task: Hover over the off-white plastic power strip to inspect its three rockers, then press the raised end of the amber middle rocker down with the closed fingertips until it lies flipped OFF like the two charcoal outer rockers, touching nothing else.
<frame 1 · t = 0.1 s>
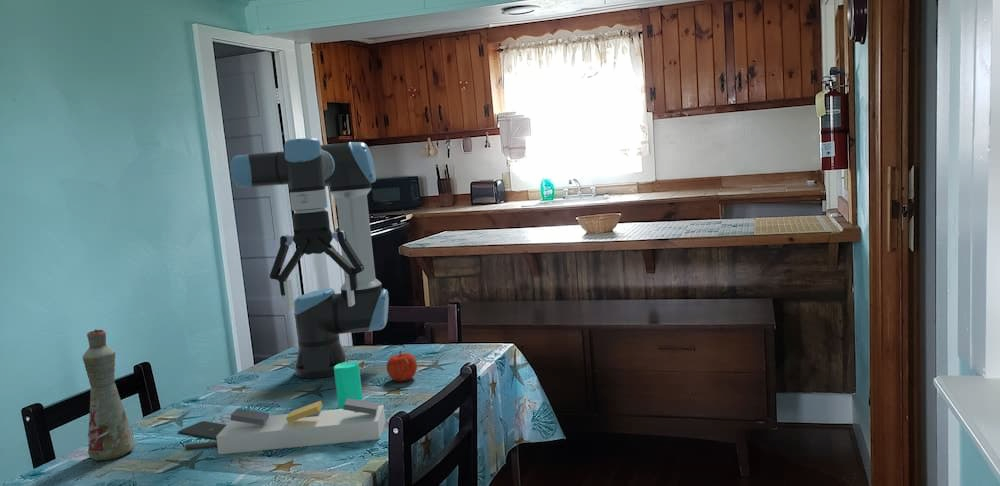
hand: (321, 307, 156), 28 cm above the table, fingers open, 13 cm apart
power strip: (304, 437, 156), on the table
rocker b: (304, 411, 154), point 6 cm above the table, hinge at 15.0°
candle: (351, 407, 174), on the table
bottle: (113, 455, 156), on the table
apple: (403, 380, 192), on the table
rocker a: (250, 416, 154), point 6 cm above the table, hinge at -15.0°
smartphone: (211, 433, 166), on the table
rocker c: (361, 406, 155), point 6 cm above the table, hinge at -15.0°
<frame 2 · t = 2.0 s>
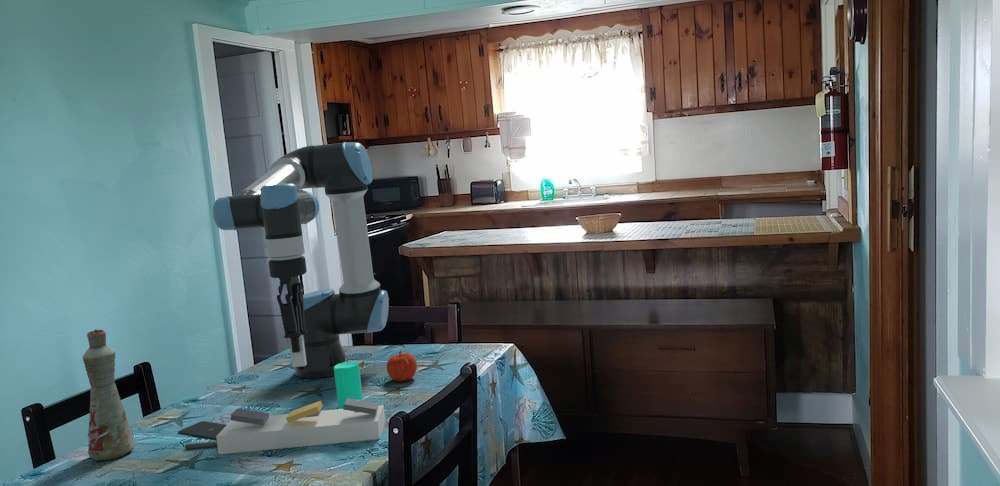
hand: (299, 365, 153), 16 cm above the table, fingers closed
nothing on the table moved.
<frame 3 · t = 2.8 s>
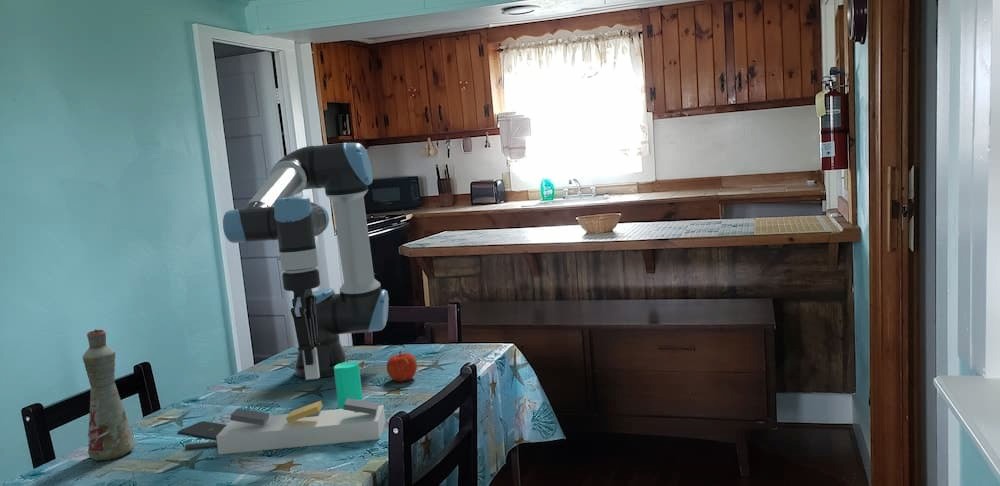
hand: (312, 377, 154), 14 cm above the table, fingers closed
nothing on the table moved.
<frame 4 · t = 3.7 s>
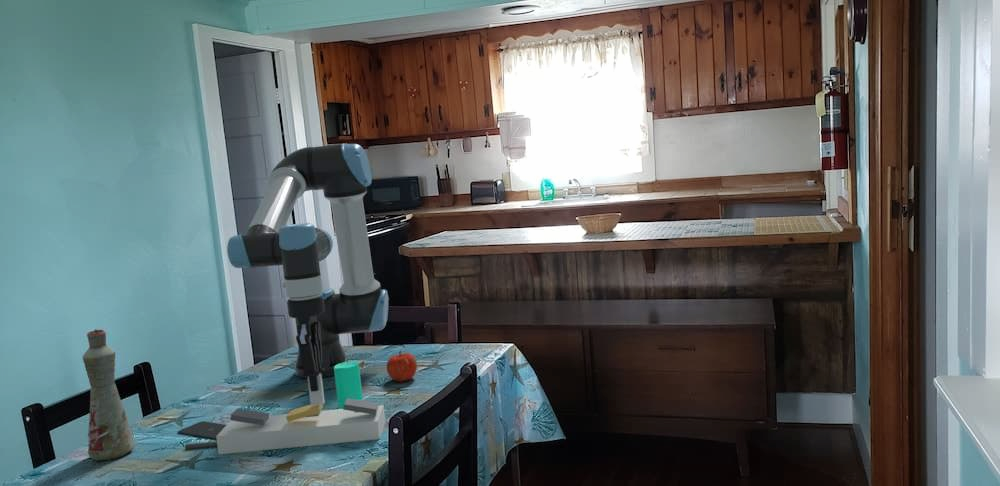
hand: (317, 403, 154), 8 cm above the table, fingers closed
rocker b: (304, 411, 154), point 6 cm above the table, hinge at 11.0°, touching gripper
everything else where it was.
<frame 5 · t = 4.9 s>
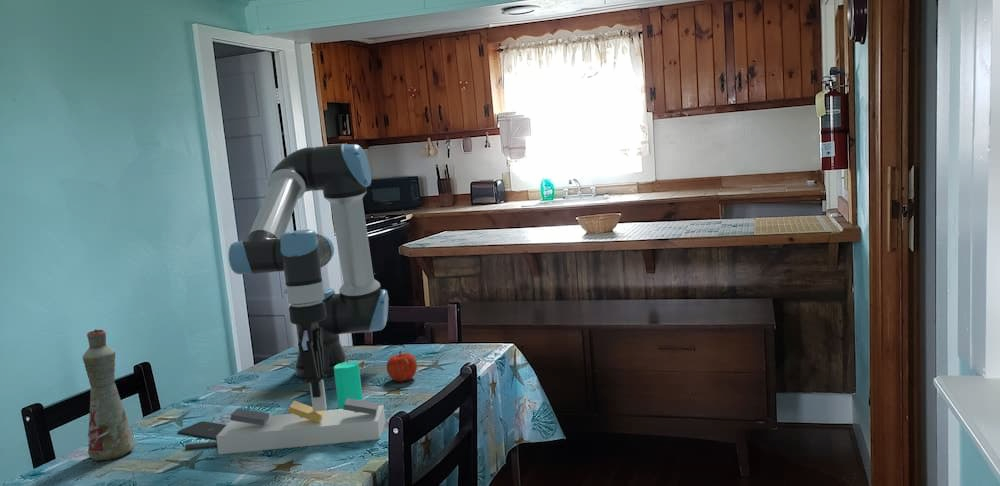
hand: (319, 409, 154), 6 cm above the table, fingers closed
rocker b: (306, 411, 154), point 6 cm above the table, hinge at -26.4°, touching gripper
everything else where it was.
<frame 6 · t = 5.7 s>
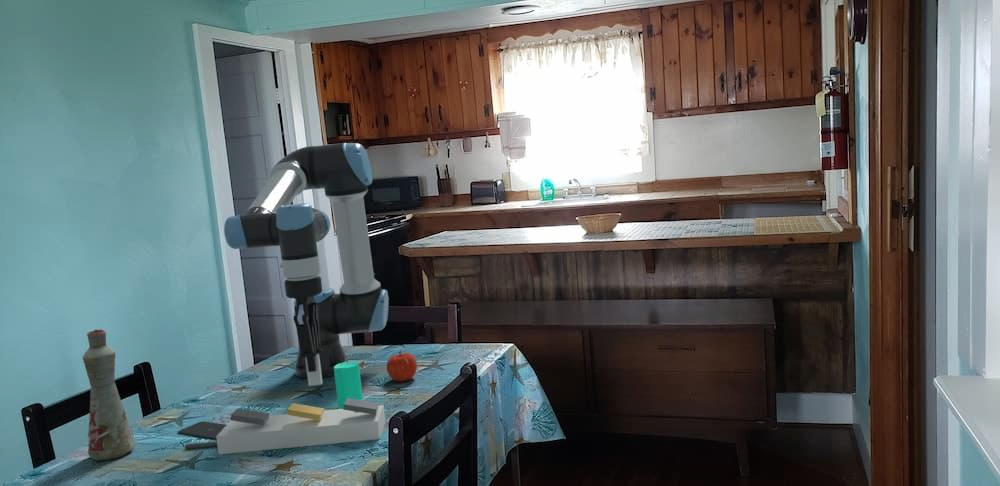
hand: (315, 384, 154), 12 cm above the table, fingers closed
rocker b: (305, 411, 154), point 6 cm above the table, hinge at -15.9°
everything else where it was.
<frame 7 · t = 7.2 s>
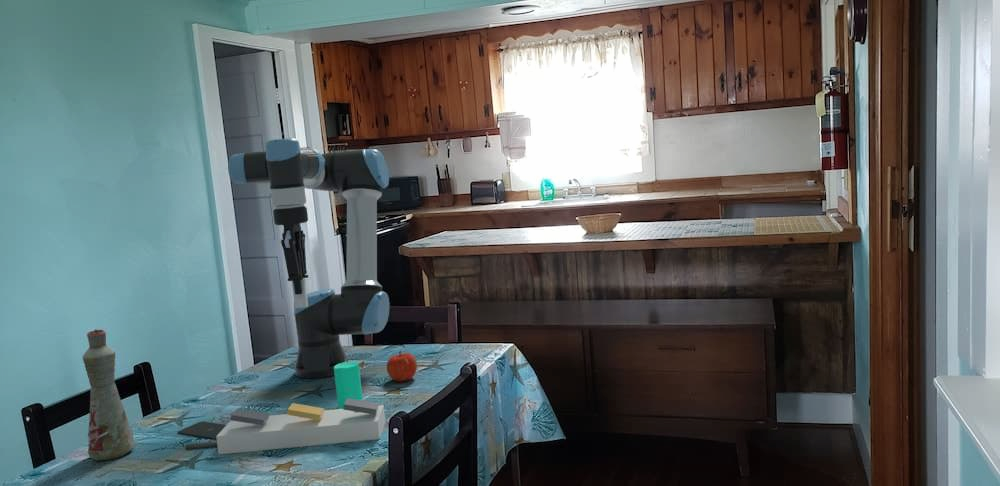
hand: (301, 307, 167), 26 cm above the table, fingers closed
nothing on the table moved.
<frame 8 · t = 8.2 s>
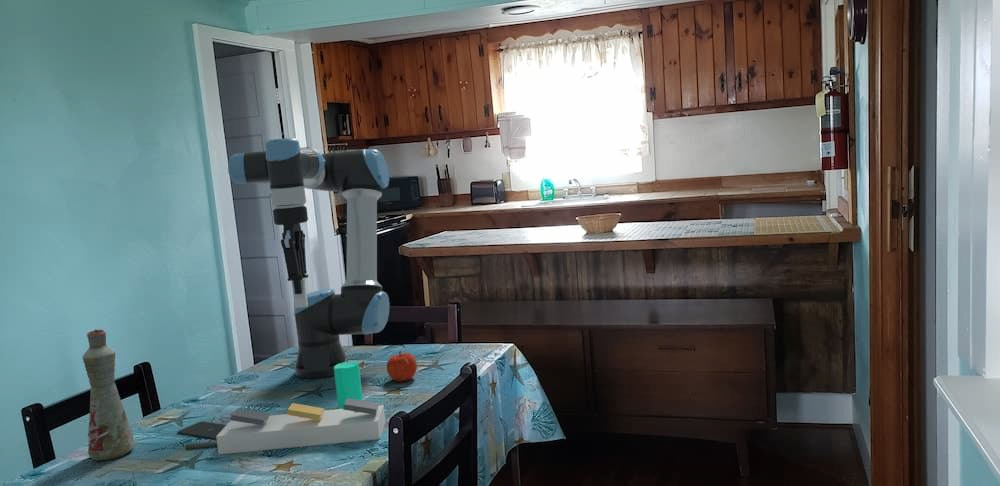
hand: (301, 306, 167), 26 cm above the table, fingers closed
nothing on the table moved.
at the end: rocker b at -16° (first picture: +15°); rocker a at -15° (first picture: -15°); rocker c at -15° (first picture: -15°) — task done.
